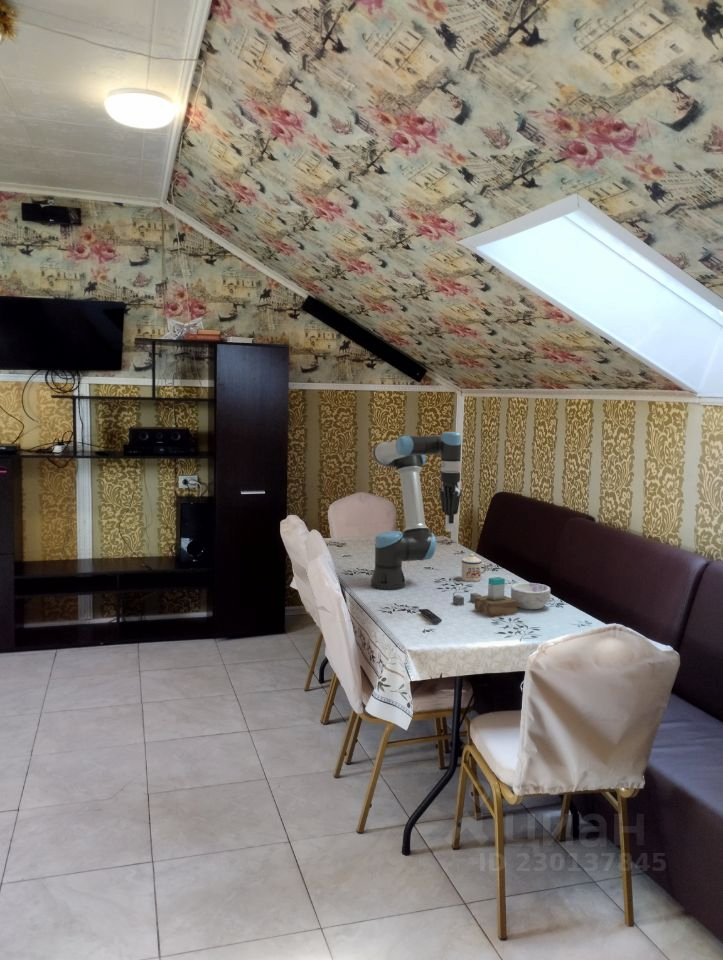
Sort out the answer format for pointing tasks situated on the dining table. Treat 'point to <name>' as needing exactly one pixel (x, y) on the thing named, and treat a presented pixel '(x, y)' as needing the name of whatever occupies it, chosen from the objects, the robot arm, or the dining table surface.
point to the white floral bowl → (530, 595)
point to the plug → (496, 589)
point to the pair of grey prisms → (460, 600)
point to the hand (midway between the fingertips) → (449, 531)
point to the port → (495, 606)
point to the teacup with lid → (472, 568)
